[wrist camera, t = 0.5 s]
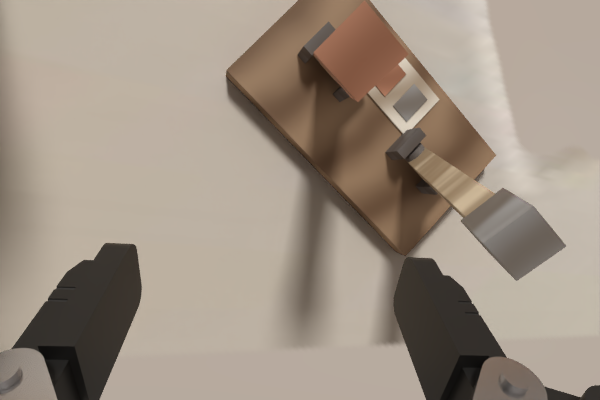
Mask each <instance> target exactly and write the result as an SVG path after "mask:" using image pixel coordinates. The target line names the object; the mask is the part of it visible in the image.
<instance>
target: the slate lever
mask: <svg viewBox="0 0 600 400" xmlns="http://www.w3.org/2000/svg"><path fill="white" fill-rule="evenodd" d="M405 160H406V161H407V162H408V163H409V164H410V165H411V167H412V168H413V169H414V170H415V171H416V172H417V173H418V174H419V176H420V177H421V178H422V179H423V180H424V181H426V182H427V183H428V184H429V185H430V186H431V187H432V188H433V189H434V190H435V191H436V192H437V193H438V194H439V195H440V196H441V197H442V198H443V199H444V200H445V201H446V202H447V203H448V204H450V205H451V206H452V207H453V208H454V209H455V210H456V211H457V212H458V213H459V214H460V215H461V216H462V217H463V219H462V220H461V222H462V223H463V224H464V225H465V226H466V227H467V229H468V230H469V231H470V232H471V233H472V234H473V235H474V236H475V238H476V239H477V240H478V241H479V242H480V243H481V244H482V245H483V247H484V248H485V249H486V250H487V251H488V252H489V253H490V254H491V255H492V256H493V257H494V258H495V259H496V261H497V262H498V263H499V264H500V265H501V266H502V267H503V268H504V269H505V270H506V271H507V272H508V273H509V274H510V275H511V276H512V277H513V278H514V279H515V280H516V281H517V280H519V279H520V278H522V277H523V276H524V275H526V274H527V273H529V272H530V271H532V270H533V269H535V268H536V267H537V266H539V265H540V264H542V263H543V262H545V261H546V260H547V259H549V258H550V257H552V256H553V255H555V254H556V253H557V252H559V251H560V250H562V249H563V248H565V247H566V245H565V244H564V243H563V241H562V240H561V239H560V238H559V236H558V235H557V234H556V233H555V232H554V230H553V229H552V228H551V227H550V225H549V224H548V223H547V222H546V221H545V219H544V218H543V217H542V216H541V215H540V213H539V212H538V211H537V210H536V208H535V207H534V206H532V205H531V204H529V203H528V202H526V201H524V200H523V199H521V198H519V197H518V196H516V195H514V194H513V193H511V192H509V191H508V190H506V189H504V188H502V189H501V190H500V191H498V192H497V193H496V194H495V193H493V192H492V191H490V190H489V189H487V188H486V187H484V186H483V185H481V184H480V183H478V182H477V181H475V180H474V179H472V178H471V177H469V176H468V175H466V174H465V173H463V172H461V171H460V170H458V169H457V168H455V167H454V166H452V165H451V164H449V163H448V162H446V161H445V160H443V159H442V158H440V157H439V156H437V155H436V154H434V153H433V152H431V151H430V150H428V149H427V148H425V147H424V146H423V145H422V144H421V143H419V144H418V145H417V146H416V147H415V148H414V149H413V151H412V152H411V153H410V154H409V155H408V156H407V157H406V158H405Z"/></svg>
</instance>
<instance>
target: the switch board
mask: <svg viewBox="0 0 600 400" xmlns="http://www.w3.org/2000/svg"><path fill="white" fill-rule="evenodd" d="M363 1H364V0H298V1H297V2H296V3H295V4H294V5H293V6H292V7H291V8H290V9H289V10H288V11H287V12H286V13H285V14H284V15H283V16H282V17H281V18H280V19H279V20H278V21H277V22H276V23H275V24H274V25H273V26H272V27H271V28H269V29H268V30H267V31H266V32H265V33H264V34H263V35H262V36H261V37H260V38H259V39H258V40H257V41H256V42H255V43H254V44H253V45H252V46H251V47H250V48H249V49H248V50H247V51H246V52H245V53H244V54H243V55H242V56H241V57H240V58H239V59H238V60H237V61H236V62H234V63H233V64H232V65H231V66H230V67H229V68H228V69H227V71H226V76H227V77H228V78H229V80H230V81H231V82H232V83H233V84H234V85H235V86H236V87H237V88H238V89H239V90H240V91H241V92H242V93H243V94H244V95H245V96H246V97H247V98H248V99H249V100H250V101H251V102H252V103H253V104H254V105H255V106H256V107H257V108H258V110H259V111H260V112H261V113H262V114H263V115H264V116H265V117H266V118H267V119H268V120H269V121H270V122H271V123H272V124H273V125H274V126H275V127H276V128H277V129H278V130H279V131H280V132H281V133H282V134H283V135H284V136H285V137H286V138H287V140H288V141H289V142H290V143H291V144H292V145H293V146H294V147H295V148H296V149H297V150H298V151H299V152H300V153H301V154H302V155H303V156H304V157H305V158H306V159H307V160H308V161H309V162H310V163H311V164H312V165H313V166H314V167H315V168H316V170H317V171H318V172H319V173H320V174H321V175H322V176H323V177H324V178H325V179H326V180H327V181H328V182H329V183H330V184H331V185H332V186H333V187H334V188H335V189H336V190H337V191H338V192H339V193H340V194H341V195H342V196H343V197H344V198H345V200H346V201H347V202H348V203H349V204H350V205H351V206H352V207H353V208H354V209H355V210H356V211H357V212H358V213H359V214H360V215H361V216H362V217H363V218H364V219H365V220H366V221H367V222H368V223H369V224H370V225H371V226H372V227H373V228H374V230H375V231H376V232H377V233H378V234H379V235H380V236H381V237H382V238H383V239H384V240H385V241H386V242H387V243H388V244H389V245H390V246H391V247H392V248H393V249H394V250H395V251H396V252H398V253H400V254H402V255H404V256H406V255H407V254H408V253H409V252H410V251H411V249H412V248H413V247H414V246H415V245H416V244H417V243H418V242H419V241H420V239H421V238H422V237H423V236H424V235H425V234H426V233H427V232H428V231H429V229H430V228H431V227H432V226H433V225H434V224H435V223H436V222H437V221H438V219H439V218H440V217H441V216H442V215H443V214H444V213H445V212H446V210H447V209H448V208H449V207H450V206H451V205H450V204H448V203H447V202H446V201H445V200H444V199H443V198H442V197H441V196H440V195H439V194H438V193H437V192H436V191H435V190H434V189H433V188H432V187H431V186H430V185H429V184H428V183H427V182H426V181H424V180H423V179H422V178H421V177H420V176H419V174H418V173H417V172H416V171H415V170H414V169H413V168H412V167H411V165H410V164H409V163H408V162H407V161H406V160H405V158H406V157H407V156H408V155H409V154H410V153H411V152H412V151H413V149H414V148H415V147H416V146H417V145H418V144H419V143H421V144H422V145H423V146H424V147H425V148H427V149H428V150H430V151H431V152H433V153H434V154H436V155H437V156H439V157H440V158H442V159H443V160H445V161H446V162H448V163H449V164H451V165H452V166H454V167H455V168H457V169H458V170H460V171H461V172H463V173H465V174H466V175H468V176H469V177H471V178H472V179H475V178H476V177H477V176H478V175H479V174H480V173H481V172H482V170H483V169H484V168H485V167H486V166H487V165H488V164H489V163H490V162H491V160H492V159H493V158H494V157H495V156H496V155H495V153H494V152H493V151H492V150H491V148H490V147H489V146H488V145H487V143H486V142H485V141H484V140H483V139H482V137H481V136H480V135H479V134H478V132H477V131H476V130H475V129H474V128H473V126H472V125H471V124H470V123H469V121H468V120H467V119H466V118H465V117H464V115H463V114H462V113H461V112H460V110H459V109H458V108H457V107H456V106H455V104H454V103H453V102H452V101H451V99H450V98H449V97H448V96H447V95H446V93H445V92H444V91H443V90H442V88H441V87H440V86H439V85H438V84H437V82H436V81H435V80H434V79H433V77H432V76H431V75H430V74H429V73H428V71H427V70H426V69H425V68H424V66H423V65H422V64H421V63H420V62H419V60H418V59H417V58H416V57H415V55H414V54H413V53H412V52H411V50H410V49H409V48H408V47H407V46H406V44H405V43H404V42H403V41H402V39H401V38H400V37H399V36H398V35H397V33H396V32H395V31H394V30H393V28H392V27H391V26H390V25H389V24H388V22H387V21H386V20H385V19H384V17H383V16H382V15H381V14H380V13H379V11H378V10H377V9H376V8H375V6H374V5H373V4H372V3H371V2H370V0H365V1H366V2H367V4H368V5H369V6H370V7H371V9H372V10H373V11H374V12H375V13H376V15H377V16H378V17H379V18H380V19H381V21H382V22H383V23H384V24H385V26H386V27H387V28H388V29H389V30H390V32H391V33H392V34H393V35H394V37H395V38H396V39H397V40H398V41H399V43H400V44H401V45H402V46H403V48H404V49H405V50H406V51H407V52H408V54H409V55H408V56H406V57H405V58H404V59H403V60H402V61H401V62H400V63H399V64H398V65H397V66H396V67H395V68H394V69H393V70H392V71H391V72H389V73H388V74H387V75H386V76H385V77H384V78H383V79H382V80H381V81H380V82H379V83H378V84H377V85H376V86H375V87H373V88H372V89H371V90H370V91H369V92H368V93H367V94H366V95H365V96H364V97H363V98H362V99H361V100H360V101H359V102H357V101H355V100H354V99H352V98H351V97H350V96H349V95H348V94H347V93H346V91H345V90H344V89H343V88H342V87H341V86H340V85H339V84H337V82H336V81H335V80H334V79H333V78H332V77H331V76H330V75H329V73H328V72H327V71H326V70H325V69H324V68H323V67H322V66H321V64H320V63H319V62H318V61H317V60H316V59H315V57H314V56H313V53H314V51H315V50H316V49H317V48H318V47H319V46H320V45H321V44H322V43H323V42H324V41H325V40H326V39H327V38H328V37H329V36H330V35H331V34H332V33H333V32H334V31H335V30H336V29H337V28H338V27H339V26H340V25H341V24H342V23H343V22H344V21H345V20H346V19H347V18H348V17H349V16H350V15H351V14H352V13H353V12H354V11H355V10H356V9H357V8H358V7H359V6H360V4H361V3H362V2H363Z"/></svg>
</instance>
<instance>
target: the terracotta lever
mask: <svg viewBox="0 0 600 400" xmlns="http://www.w3.org/2000/svg"><path fill="white" fill-rule="evenodd" d="M408 55H409V54H408V52H407V51H406V50H405V49H404V48H403V46H402V45H401V44H400V43H399V41H398V40H397V39H396V38H395V37H394V35H393V34H392V33H391V32H390V30H389V29H388V28H387V27H386V26H385V24H384V23H383V22H382V21H381V19H380V18H379V17H378V16H377V15H376V13H375V12H374V11H373V10H372V9H371V7H370V6H369V5H368V4H367V2H366V1H365V0H364V1H363V2H362V3H361V4H360V6H359V7H358V8H357V9H356V10H355V11H354V12H353V13H352V14H351V15H350V16H349V17H348V18H347V19H346V20H345V21H344V22H343V23H342V24H341V25H340V26H339V27H338V28H337V29H336V30H335V31H334V32H333V33H332V34H331V35H330V36H329V37H328V38H327V39H326V40H325V41H324V42H323V43H322V44H321V45H320V46H319V47H318V48H317V49H316V50H315V51H314V53H313V56H314V57H315V59H316V60H317V61H318V62H319V63H320V64H321V66H322V67H323V68H324V69H325V70H326V71H327V72H328V73H329V75H330V76H331V77H332V78H333V79H334V80H335V81H336V82H337V84H339V85H340V86H341V87H342V88H343V89H344V90H345V91H346V93H347V94H348V95H349V96H350V97H351V98H352V99H354V100H355V101H357V102H359V101H360V100H361V99H362V98H363V97H364V96H365V95H366V94H367V93H368V92H369V91H370V90H371V89H372V88H373V87H375V86H376V85H377V84H378V83H379V82H380V81H381V80H382V79H383V78H384V77H385V76H386V75H387V74H388V73H389V72H391V71H392V70H393V69H394V68H395V67H396V66H397V65H398V64H399V63H400V62H401V61H402V60H403V59H404V58H405V57H406V56H408Z"/></svg>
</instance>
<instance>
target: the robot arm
mask: <svg viewBox="0 0 600 400" xmlns="http://www.w3.org/2000/svg"><path fill="white" fill-rule="evenodd" d="M141 290H142V286H141V278H140V270H139V263H138V255H137V249H136V246H135V245H134V244H118V243H106V244H104V245H103V247H102V248H101V250H100V251H99V253H98V254H97V256H96V257H95V259H94V260H83V261H82V262H80V263H79V264H78V265H76V266H75V267H73V268H72V269H71V270H69V271H68V272H67V273H66V274H65V276H64V277H63V278H62V280H61V281H60V282H59V284H58V285H57V289H54V291H53V292H52V294H51V295H50V296H49V298H48V301H46V302H45V303H44V305H43V306H42V307H41V309H40V310H39V312H38V313H37V314H36V316H35V317H34V318H33V320H32V321H31V323H30V324H29V325H28V327H27V328H26V330H25V331H24V332H23V334H22V335H21V336H20V338H19V339H18V341H17V342H16V343H15V345H14V346H13V348H12V349H10V350H6V351H3V352H1V353H0V400H99V399H100V396H101V394H102V392H103V390H104V387H105V385H106V382H107V380H108V378H109V375H110V373H111V370H112V368H113V366H114V363H115V361H116V359H117V356H118V354H119V352H120V349H121V347H122V345H123V342H124V340H125V337H126V335H127V333H128V330H129V328H130V326H131V323H132V321H133V318H134V316H135V314H136V311H137V309H138V306H139V303H140V299H141ZM471 302H472V301H471V300H470V298H469V296H468V295H467V293H466V291H465V290H464V288H463V287H462V286H461V285H459V284H458V283H457V282H456V281H455V280H454V279H453V278H451V277H450V276H444V275H443V274H442V273H441V271H440V269H439V267H438V266H437V264H436V262H435V261H434V260H433V259H432V258H412V257H408V258H406V259H405V261H404V264H403V267H402V271H401V274H400V278H399V281H398V284H397V288H396V291H395V295H394V312H395V316H396V318H397V321H398V324H399V327H400V329H401V332H402V335H403V338H404V340H405V343H406V346H407V348H408V351H409V354H410V356H411V359H412V362H413V365H414V367H415V370H416V373H417V376H418V378H419V381H420V384H421V386H422V389H423V392H424V395H425V397H426V400H600V385H599V386H591V387H589V388H588V389H587V390H586V391H585V393H584V394H583V395H582V397H577V396H574V395H571V394H567V393H564V392H560V391H557V390H554V389H550V388H547V387H544V385H543V384H542V382H541V381H540V380H539V378H538V377H537V376H536V375H535V374H534V373H533V372H532V371H531V370H529V369H528V368H527V367H525V366H524V365H522V364H520V363H519V362H517V361H514V360H512V359H509V358H507V357H506V356H505V354H504V352H503V351H502V349H501V348H500V346H499V344H498V343H497V341H496V340H495V338H494V336H493V335H492V333H491V332H490V330H489V328H488V327H487V325H486V324H485V322H484V320H483V319H482V317H481V316H480V315H479V314H478V313H479V312H478V311H477V309H476V308H475V306H474V304H472V303H471Z"/></svg>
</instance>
